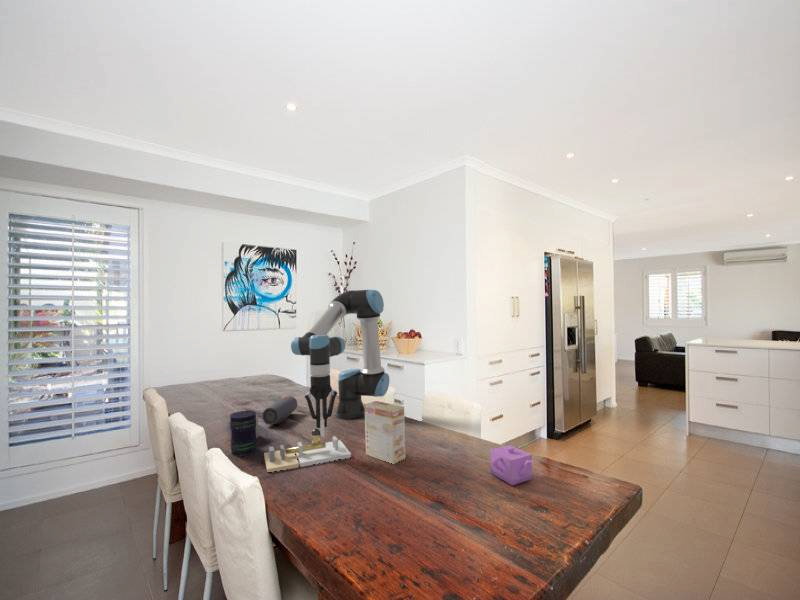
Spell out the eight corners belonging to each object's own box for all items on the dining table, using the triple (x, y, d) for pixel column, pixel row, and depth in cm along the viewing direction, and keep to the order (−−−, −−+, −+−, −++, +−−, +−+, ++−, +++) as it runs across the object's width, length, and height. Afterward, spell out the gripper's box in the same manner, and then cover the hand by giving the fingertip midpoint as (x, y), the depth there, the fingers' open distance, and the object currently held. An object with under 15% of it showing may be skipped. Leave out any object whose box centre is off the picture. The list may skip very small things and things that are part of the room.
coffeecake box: (406, 458, 146) (404, 406, 146) (393, 465, 141) (391, 410, 141) (378, 449, 156) (377, 400, 156) (365, 454, 151) (363, 404, 151)
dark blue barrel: (248, 456, 152) (246, 418, 152) (225, 455, 154) (224, 417, 154) (262, 447, 162) (261, 410, 162) (240, 445, 164) (239, 410, 164)
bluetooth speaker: (282, 413, 210) (281, 394, 210) (298, 413, 209) (298, 394, 209) (261, 427, 187) (260, 406, 187) (279, 427, 186) (279, 406, 186)
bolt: (324, 446, 154) (323, 426, 154) (326, 448, 151) (325, 428, 151) (284, 452, 148) (284, 432, 148) (285, 455, 145) (285, 434, 145)
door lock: (340, 443, 163) (340, 430, 163) (350, 457, 148) (350, 443, 148) (264, 456, 151) (263, 442, 151) (267, 473, 137) (267, 457, 137)
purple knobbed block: (549, 486, 122) (548, 453, 122) (515, 497, 116) (514, 463, 116) (508, 465, 138) (507, 436, 138) (476, 474, 132) (476, 444, 132)
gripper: (334, 371, 158) (336, 430, 158) (301, 375, 153) (303, 435, 153) (339, 374, 151) (340, 436, 151) (304, 378, 146) (306, 441, 146)
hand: (322, 435), depth 152 cm, fingers closed
